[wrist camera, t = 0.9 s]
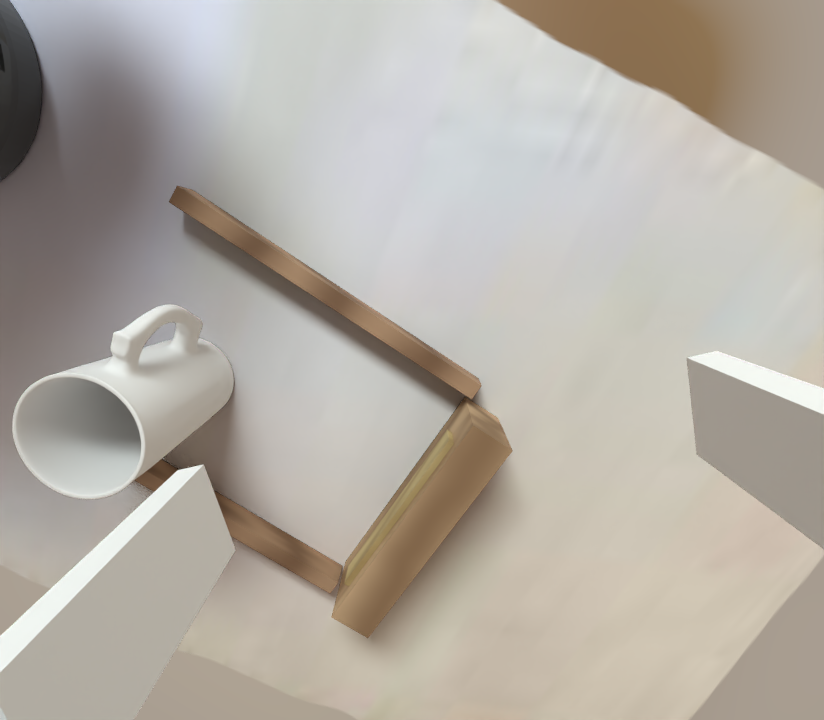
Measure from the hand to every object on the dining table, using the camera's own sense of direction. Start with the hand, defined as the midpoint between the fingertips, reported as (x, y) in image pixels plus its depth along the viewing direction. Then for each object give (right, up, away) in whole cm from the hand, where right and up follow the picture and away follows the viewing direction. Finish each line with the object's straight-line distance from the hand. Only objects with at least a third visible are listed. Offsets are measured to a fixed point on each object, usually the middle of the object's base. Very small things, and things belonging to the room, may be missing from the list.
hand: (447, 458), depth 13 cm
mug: (-17, +3, +22) cm, 28 cm away
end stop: (0, -8, +24) cm, 25 cm away
